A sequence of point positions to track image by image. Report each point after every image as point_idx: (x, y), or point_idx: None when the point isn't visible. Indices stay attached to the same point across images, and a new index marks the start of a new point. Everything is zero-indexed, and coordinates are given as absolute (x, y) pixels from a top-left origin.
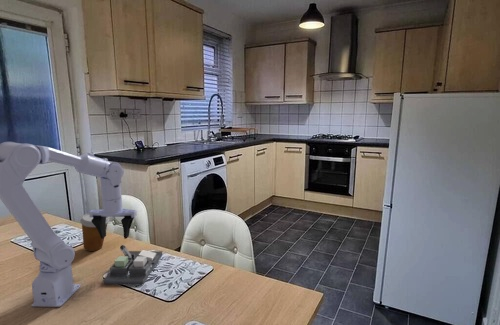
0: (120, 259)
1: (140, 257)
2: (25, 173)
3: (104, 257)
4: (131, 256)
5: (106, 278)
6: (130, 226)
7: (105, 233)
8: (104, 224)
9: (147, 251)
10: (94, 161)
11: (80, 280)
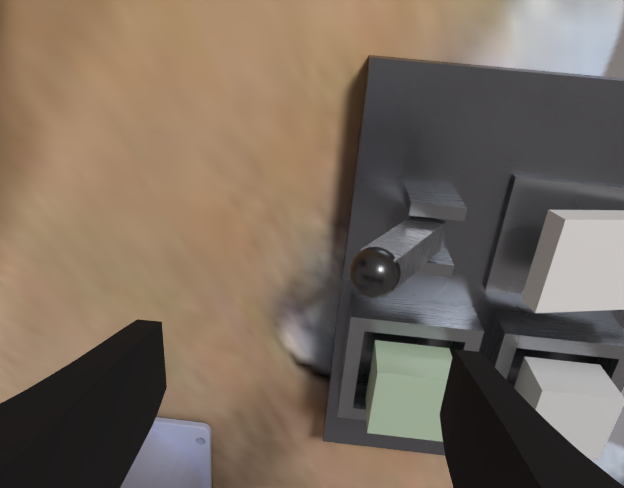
0: (409, 419)
1: (572, 408)
2: None
3: (159, 87)
4: (442, 230)
5: (337, 432)
6: (571, 454)
7: (146, 354)
8: (61, 458)
9: (608, 230)
10: None
11: (171, 371)
